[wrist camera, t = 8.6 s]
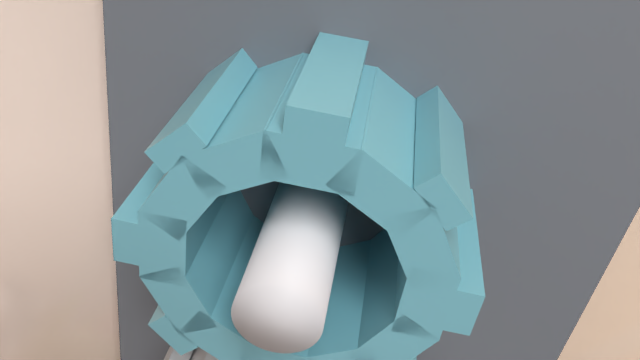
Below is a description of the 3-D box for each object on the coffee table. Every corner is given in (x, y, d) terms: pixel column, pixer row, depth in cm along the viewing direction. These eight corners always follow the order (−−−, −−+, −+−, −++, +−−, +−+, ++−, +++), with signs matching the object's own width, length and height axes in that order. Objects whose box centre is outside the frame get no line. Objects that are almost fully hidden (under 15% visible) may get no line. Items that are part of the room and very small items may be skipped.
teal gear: (431, 312, 16) (432, 431, 13) (176, 259, 16) (119, 362, 13) (513, 68, 12) (541, 155, 9) (179, 5, 12) (102, 69, 9)
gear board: (463, 487, 22) (474, 692, 17) (142, 413, 22) (59, 591, 17) (712, -13, 12) (919, 121, 7) (129, -122, 13) (-69, -71, 8)
